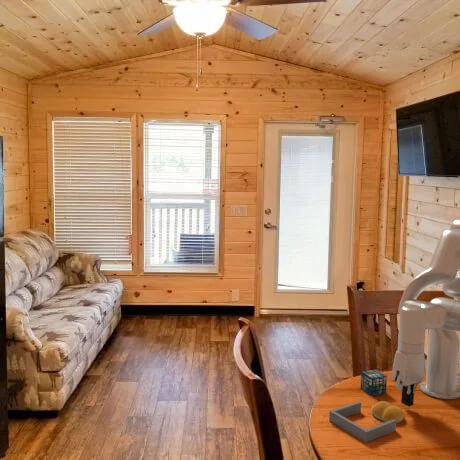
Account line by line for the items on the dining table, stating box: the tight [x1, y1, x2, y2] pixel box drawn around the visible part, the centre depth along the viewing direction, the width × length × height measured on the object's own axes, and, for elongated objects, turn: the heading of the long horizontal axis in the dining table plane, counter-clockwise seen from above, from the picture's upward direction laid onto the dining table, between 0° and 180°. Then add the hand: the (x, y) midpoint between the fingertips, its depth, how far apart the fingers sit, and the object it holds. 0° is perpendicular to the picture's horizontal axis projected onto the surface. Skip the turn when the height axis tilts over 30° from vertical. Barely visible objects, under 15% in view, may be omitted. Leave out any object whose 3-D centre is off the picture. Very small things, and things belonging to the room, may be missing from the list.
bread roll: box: [371, 400, 404, 424], centre depth 152 cm, size 8×9×4 cm
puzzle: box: [360, 369, 388, 397], centre depth 169 cm, size 6×6×6 cm
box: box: [328, 401, 397, 443], centre depth 146 cm, size 12×14×3 cm
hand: (407, 404), depth 156 cm, fingers closed
